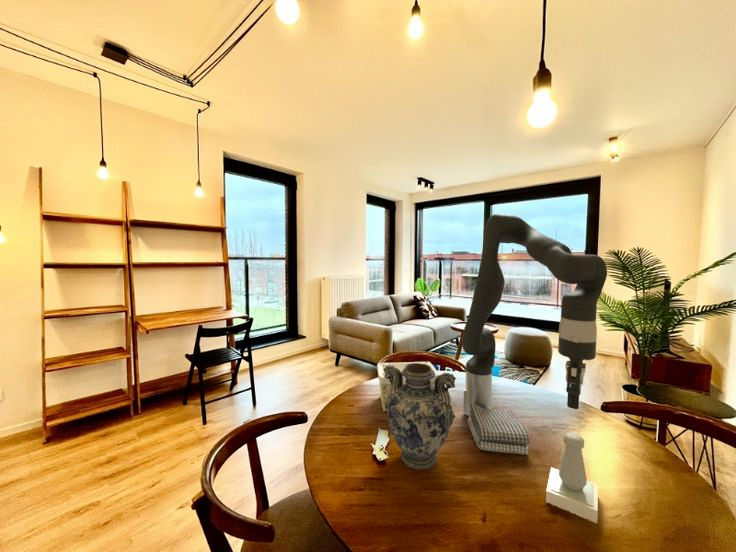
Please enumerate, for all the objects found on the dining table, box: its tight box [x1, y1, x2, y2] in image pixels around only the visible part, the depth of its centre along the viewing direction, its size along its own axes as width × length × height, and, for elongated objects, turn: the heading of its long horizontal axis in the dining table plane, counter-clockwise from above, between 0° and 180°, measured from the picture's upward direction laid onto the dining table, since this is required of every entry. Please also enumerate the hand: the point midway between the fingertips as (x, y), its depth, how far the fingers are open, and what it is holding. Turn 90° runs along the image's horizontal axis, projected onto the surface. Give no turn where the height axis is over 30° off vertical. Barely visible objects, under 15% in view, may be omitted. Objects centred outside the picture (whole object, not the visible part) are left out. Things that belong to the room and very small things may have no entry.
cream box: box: [376, 361, 440, 412], centre depth 124 cm, size 24×16×15 cm
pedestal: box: [545, 467, 599, 524], centre depth 75 cm, size 10×10×3 cm
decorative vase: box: [384, 363, 456, 471], centre depth 90 cm, size 21×19×28 cm
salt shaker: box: [558, 431, 588, 492], centre depth 74 cm, size 6×6×13 cm
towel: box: [467, 404, 530, 456], centre depth 100 cm, size 15×18×8 cm
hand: (574, 400), depth 74 cm, fingers open, 8 cm apart
